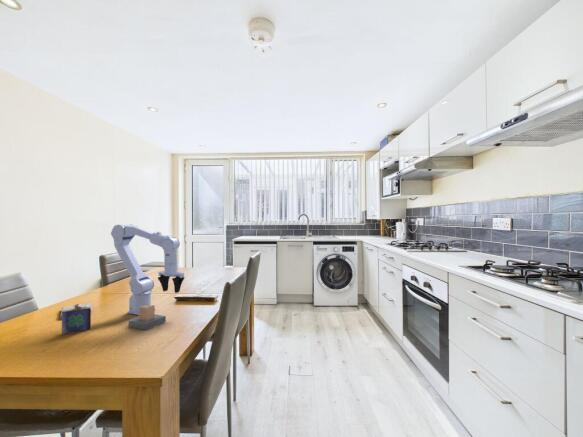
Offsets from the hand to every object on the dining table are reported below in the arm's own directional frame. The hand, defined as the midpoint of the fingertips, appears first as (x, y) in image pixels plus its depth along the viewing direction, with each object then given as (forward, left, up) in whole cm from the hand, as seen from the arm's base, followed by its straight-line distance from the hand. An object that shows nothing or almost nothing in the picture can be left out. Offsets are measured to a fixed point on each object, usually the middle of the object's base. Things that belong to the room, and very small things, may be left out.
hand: (171, 291), depth 132 cm
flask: (-17, -31, -11) cm, 37 cm away
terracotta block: (+2, -14, -8) cm, 16 cm away
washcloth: (-43, -17, -11) cm, 48 cm away
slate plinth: (+2, -14, -10) cm, 18 cm away
